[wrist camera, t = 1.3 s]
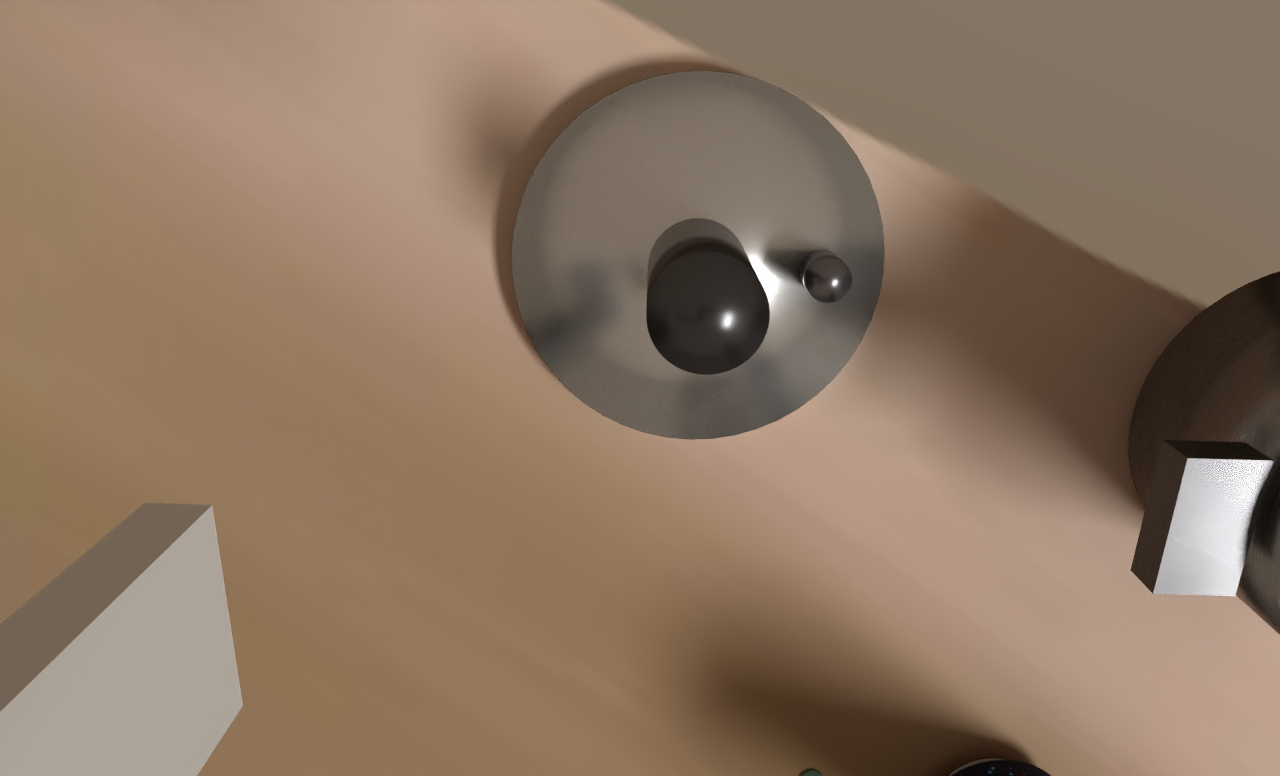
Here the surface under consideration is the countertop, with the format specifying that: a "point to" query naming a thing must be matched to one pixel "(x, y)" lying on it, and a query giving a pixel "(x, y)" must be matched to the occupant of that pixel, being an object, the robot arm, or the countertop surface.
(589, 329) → the lid
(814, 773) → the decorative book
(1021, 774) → the beverage can
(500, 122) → the countertop surface
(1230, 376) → the pot
